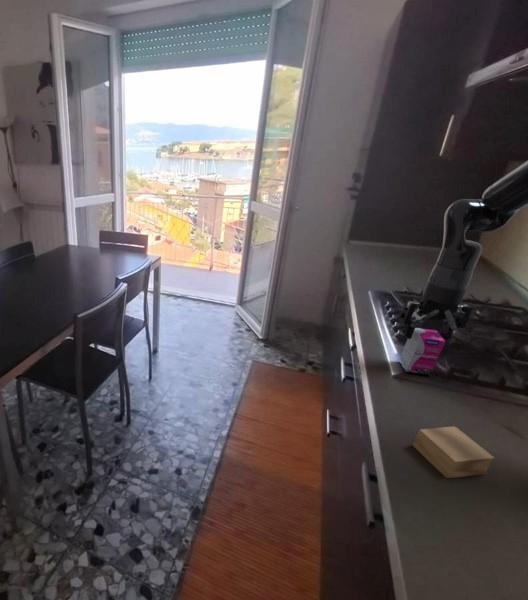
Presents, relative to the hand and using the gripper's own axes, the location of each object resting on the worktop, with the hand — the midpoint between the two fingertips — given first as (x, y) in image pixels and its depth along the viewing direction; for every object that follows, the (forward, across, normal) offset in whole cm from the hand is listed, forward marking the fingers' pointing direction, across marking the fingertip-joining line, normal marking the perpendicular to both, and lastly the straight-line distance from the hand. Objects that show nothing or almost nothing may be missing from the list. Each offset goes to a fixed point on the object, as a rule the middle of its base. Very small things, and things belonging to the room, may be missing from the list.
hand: (424, 338), depth 94 cm
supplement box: (+10, 0, 0) cm, 10 cm away
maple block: (+10, -10, -32) cm, 35 cm away
